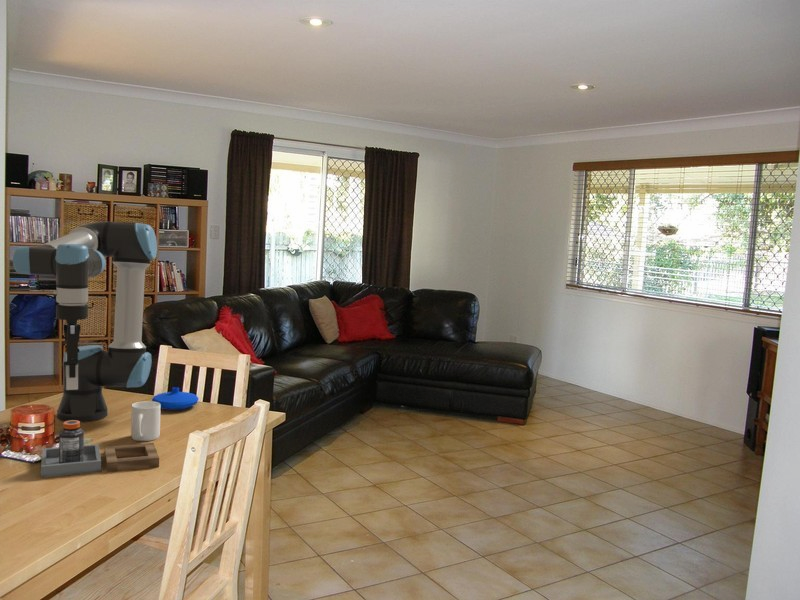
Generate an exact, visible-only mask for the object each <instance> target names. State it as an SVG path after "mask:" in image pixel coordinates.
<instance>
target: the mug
mask: <svg viewBox="0 0 800 600" xmlns="http://www.w3.org/2000/svg"><path fill="white" fill-rule="evenodd" d="M161 409H162V408H161V404H160V403H158V402H154V401H152V400H145V401H144V400H143V401H137V402H133V403H132V404H131V417H130V418H131V428H130V433H131V434H130V435H131V436H130V437H131V439H132V440H133V441H137V442H152V441H155V440H157V439H159V438H160V434H161V433H160V432H161Z"/></svg>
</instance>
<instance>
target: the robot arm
mask: <svg viewBox="0 0 800 600" xmlns="http://www.w3.org/2000/svg"><path fill="white" fill-rule="evenodd" d="M157 253H158V243H157V237H156V233H155V230H154V229H153V227H152V226H151V225H149V224H148V223H140V222H123V221H122V222H121V221H109V220H105V221H103V220H102V221H94V222H91V223H87V224H84V225H79V226H77V227H75V228H73V229H72V230H70V231H69V232H68V234H65V235H63V236H61V237H58V238H57V239H53V240H51V241H48V242H45V243H43V244H41V245H38V246H19V247H17V248H16V249H15V250H14V252H13V255H12V266H13V268H14V270H15V272H16V273H17V274H21V275H28V276H31V275H32V276H33V275H34V276H55V282H56V283H55V287H56V290H53V295H55V300H56V301H55V302H56V303H57V304H56V305H55V317H56V319H58V320H62V321H66V322H65V323H66V324H63V333H64V342H65V345H66V346H65V352H64V354H63V362H62V372H63V373H62V374H63V375H62V377H63V378H62V379H63V380H62V385H63V386H62V387H63V388H62V389H63V391H62V396H61V399H60V401H59V402H60V403H59V405H58V408H57V410H56V417H57V419H58V420H59V421H62V422H65V421H69V420H77V421H80V423H87V422H94V421H99V420H102V419H104V418H106V417H108V414H109V413H108V405H107V403H106V399H105V397H104V394H103V387H111V388H112V387H113V388H127V389H129V388H140V387H142V386H144V385H145V384H146V382H147V380H148V378H149V376H150V372H151V368H152V362H153V361H152V354H151V353H150V352H148V351H147V345H145V344H144V343H143V341H142V337H143V321H144V320H143V319H144V318H143V316H144V299H145V283H146V282H145V280H146V278H145V277H146V270H147V268H149V267H150V266H151V261H153V260H155V259H156V258H157ZM105 257H106V258H112V264H113V265H114V266H115V267H116V285H115V286H116V287H115V289H116V290H115V304H114V305H115V311H114V327H113V329H114V331H113V340H112V342H111V343H110V344H108V346H107V348H108V349H107V350H104V347H103V346H102V345H99V344H90V345H83V346H82V345H81V346H79V345H78V343H79V342H80V334H81V324H78V320H81V321H83V320H86V319H87V318H88V316H89V315H88V314H89V305H88V304H87V303H88V302H89V278H94V277H96V276H98V275H100V274H102V273H103V272H104V270H105V268H106V265H107V262H106V258H105Z"/></svg>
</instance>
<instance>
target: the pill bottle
mask: <svg viewBox="0 0 800 600" xmlns="http://www.w3.org/2000/svg"><path fill="white" fill-rule="evenodd" d="M62 428H63V429H61V430H60V431H59V433H58V434H59V435H58V447H59V464H61V463H71V462H82V461H84V445H85V444H84V442H85V441H84V439H85V438H84V437H85V436H84V434H85V433H84V430H83V429H82V428H81V422H80V421H77V420H69V421H63V426H62Z"/></svg>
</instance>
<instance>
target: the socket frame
mask: <svg viewBox="0 0 800 600" xmlns="http://www.w3.org/2000/svg"><path fill="white" fill-rule="evenodd" d="M104 461H105V467H106V472H107V473H111V472H119V471H120V472H121V471H130V470H132V471H133V470H141V469H152V468H159V467H160V456H159V453H158V451H157V449H156V446H155V443H154V442H147V443H137V444H124V445H113V446H104Z"/></svg>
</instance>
